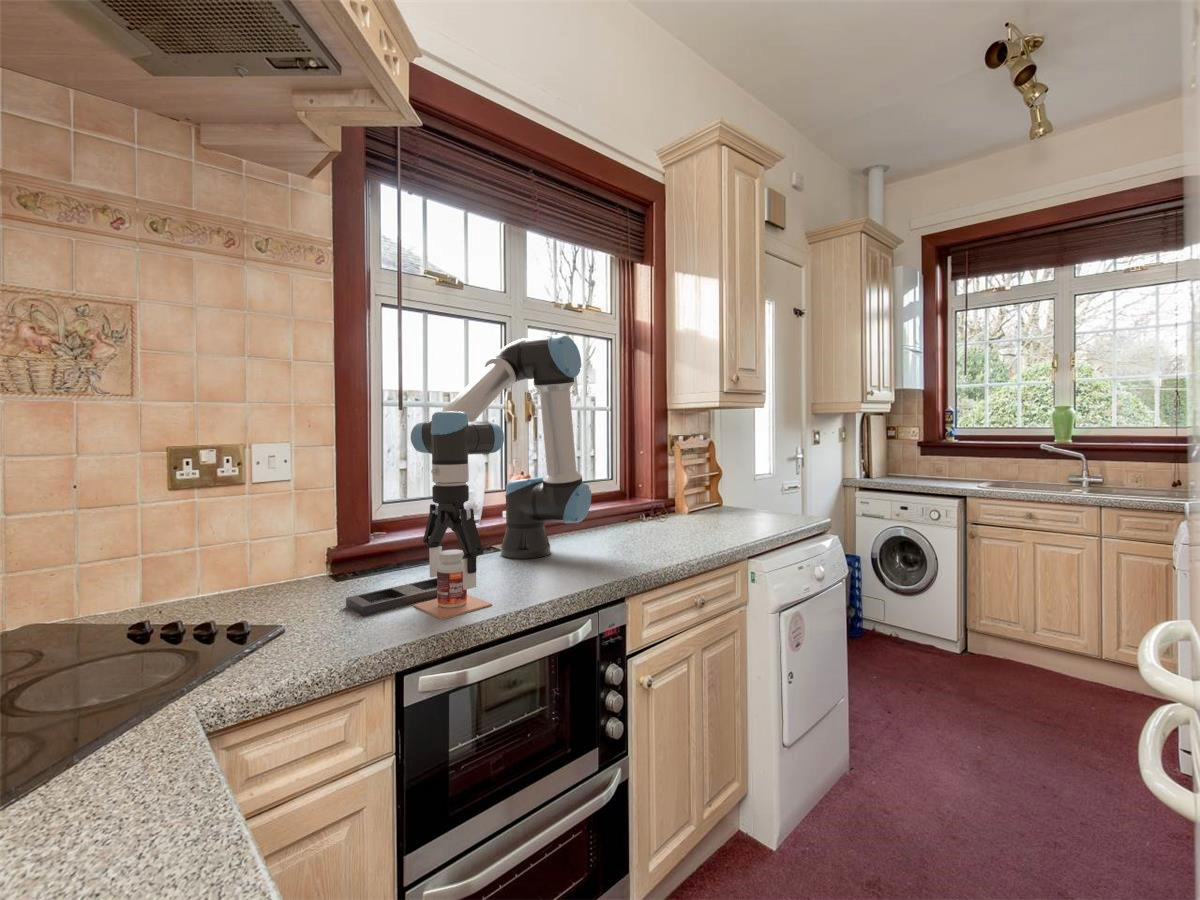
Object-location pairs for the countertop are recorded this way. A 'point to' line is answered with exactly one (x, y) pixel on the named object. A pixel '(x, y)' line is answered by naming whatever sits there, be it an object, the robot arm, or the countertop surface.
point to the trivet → (443, 613)
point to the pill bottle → (450, 579)
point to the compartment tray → (401, 596)
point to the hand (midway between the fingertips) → (452, 582)
